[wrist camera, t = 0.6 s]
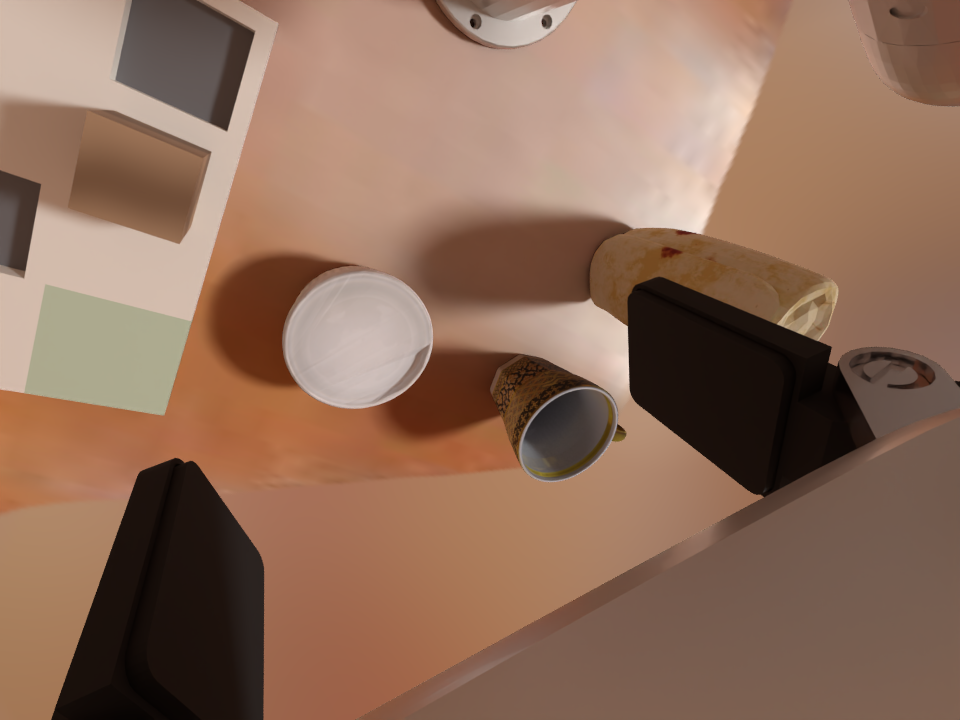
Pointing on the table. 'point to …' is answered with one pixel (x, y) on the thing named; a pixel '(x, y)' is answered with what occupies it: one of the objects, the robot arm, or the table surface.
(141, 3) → the trap deck
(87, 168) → the walnut block
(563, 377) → the ceramic cup
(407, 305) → the ramekin
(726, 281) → the food model
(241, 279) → the table surface
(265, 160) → the table surface
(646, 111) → the table surface
